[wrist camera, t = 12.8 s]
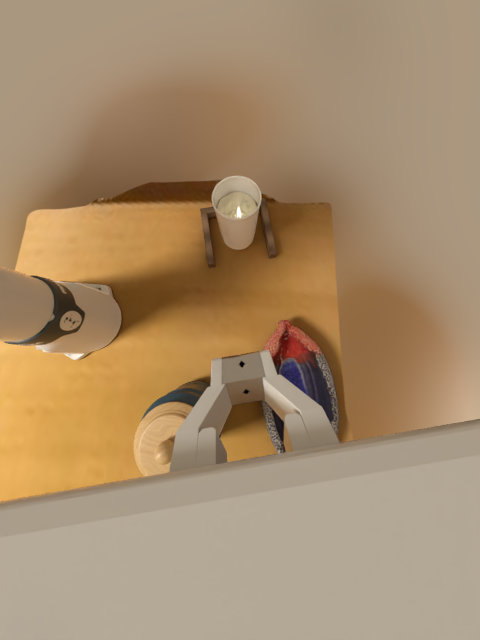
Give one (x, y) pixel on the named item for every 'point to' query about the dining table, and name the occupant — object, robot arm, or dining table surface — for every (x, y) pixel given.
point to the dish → (300, 376)
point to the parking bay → (210, 213)
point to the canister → (164, 427)
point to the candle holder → (237, 210)
